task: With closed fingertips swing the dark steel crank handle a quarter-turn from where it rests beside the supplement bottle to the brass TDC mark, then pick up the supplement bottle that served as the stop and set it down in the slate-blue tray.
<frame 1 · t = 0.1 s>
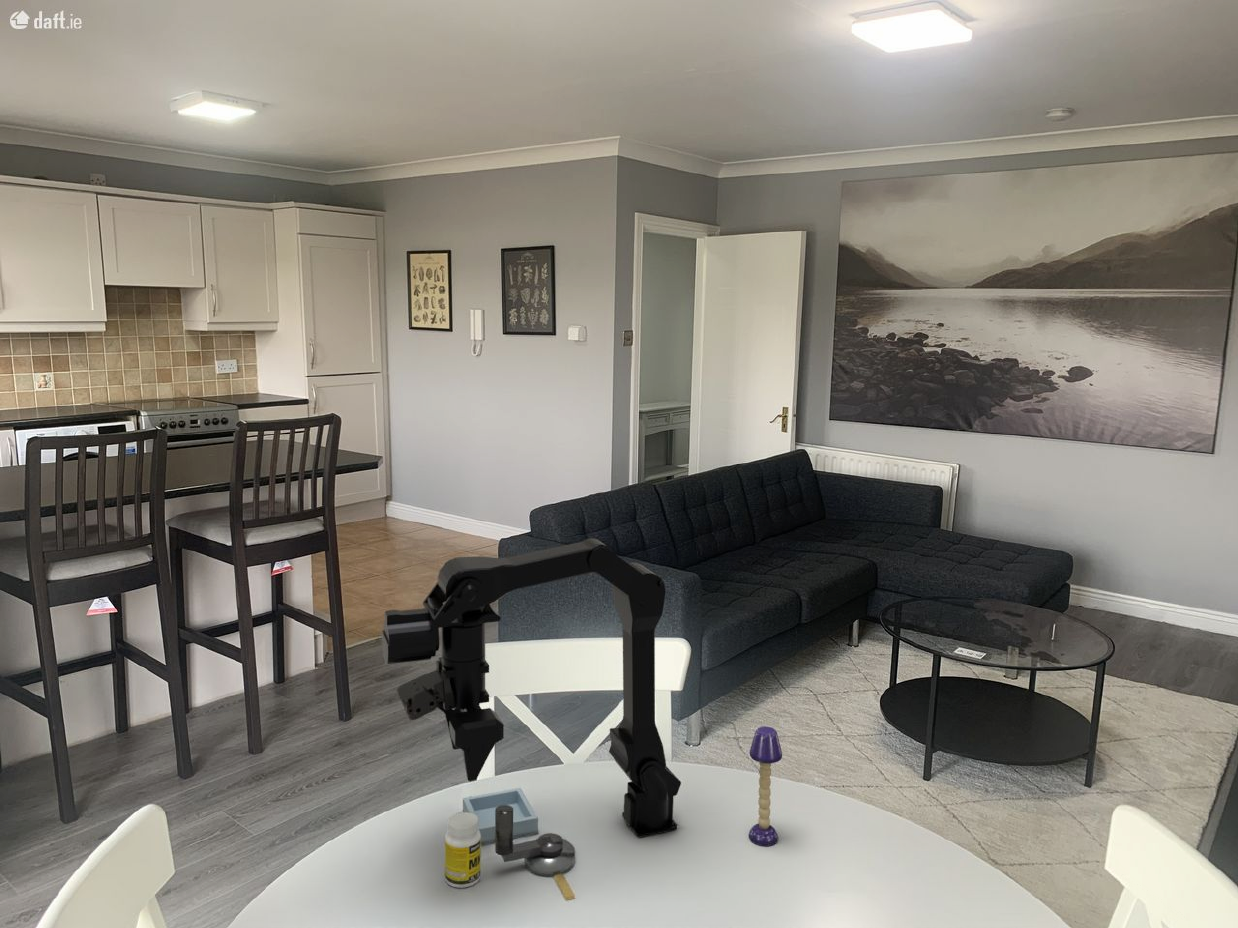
hand: (464, 763, 122), 14 cm above the table, fingers open, 9 cm apart
supplement bottle: (463, 879, 121), on the table
tray: (499, 823, 134), on the table
crank: (529, 829, 123), point 5 cm above the table, hinge at 0.0°
toy lamp: (761, 838, 132), on the table
crank base: (549, 861, 125), on the table
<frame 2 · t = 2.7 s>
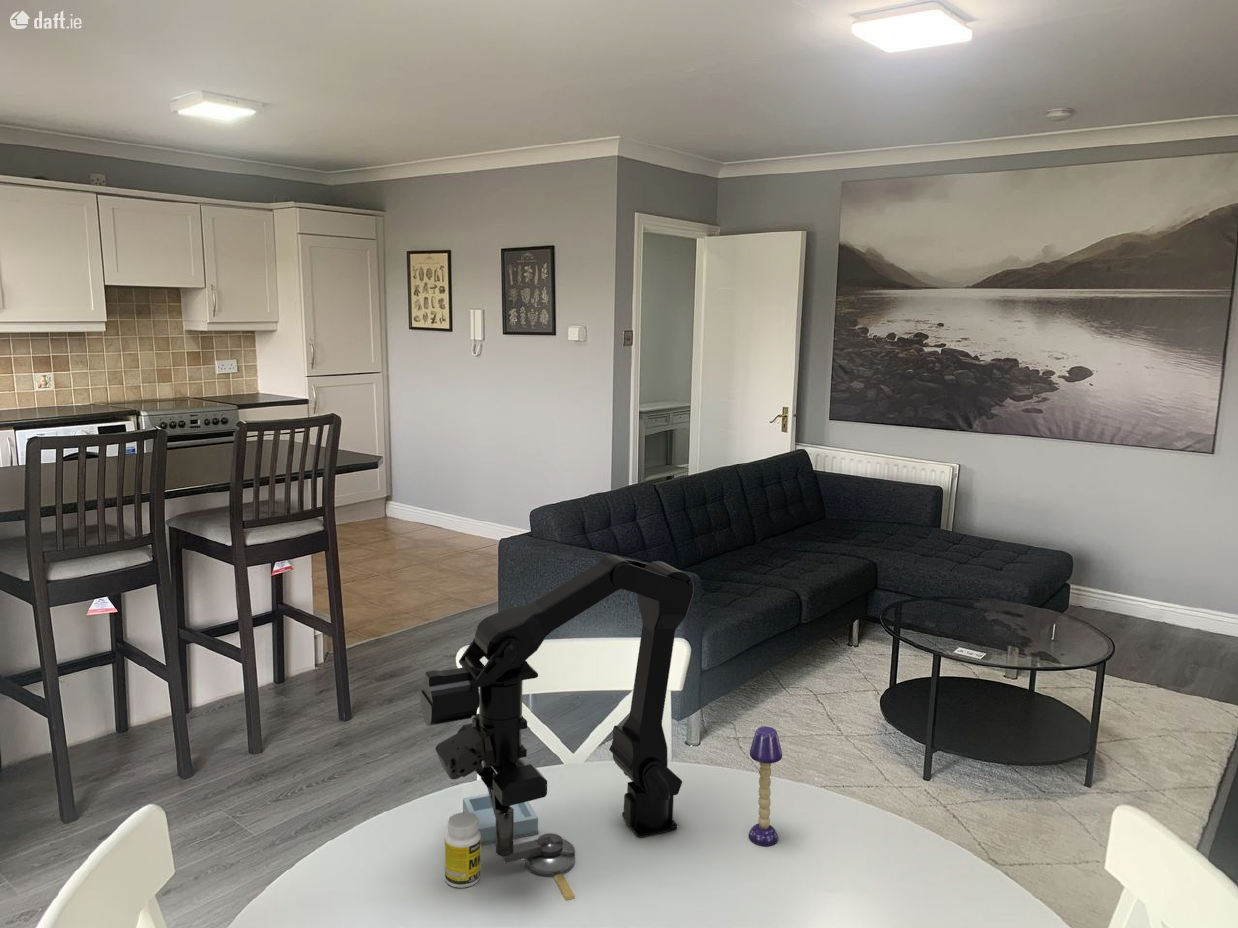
hand: (499, 817, 123), 7 cm above the table, fingers closed
crank: (529, 829, 123), point 5 cm above the table, hinge at 1.8°, touching gripper
everything else where it was.
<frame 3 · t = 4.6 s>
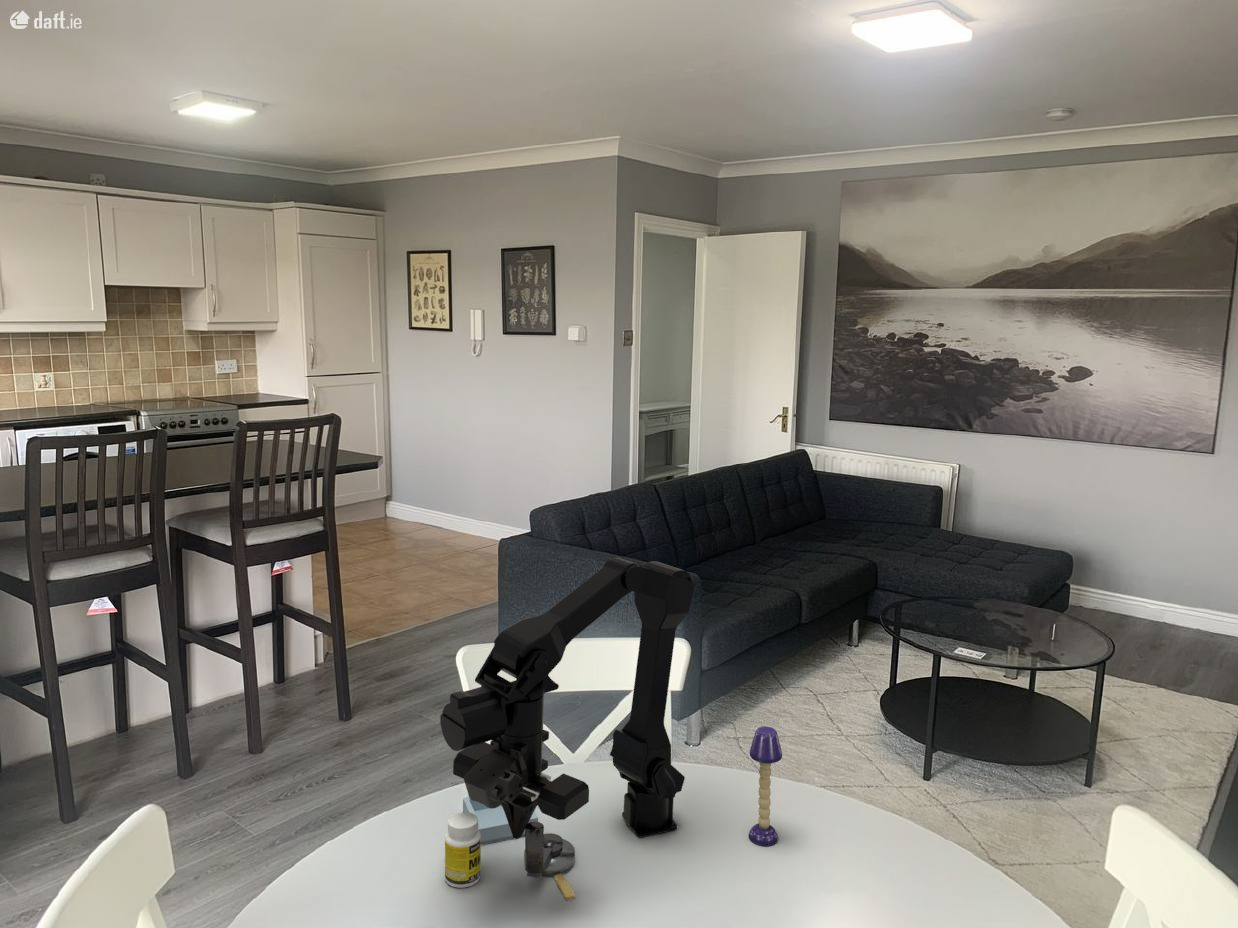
hand: (517, 837, 119), 7 cm above the table, fingers closed
crank: (543, 836, 121), point 5 cm above the table, hinge at 53.5°, touching gripper
everything else where it was.
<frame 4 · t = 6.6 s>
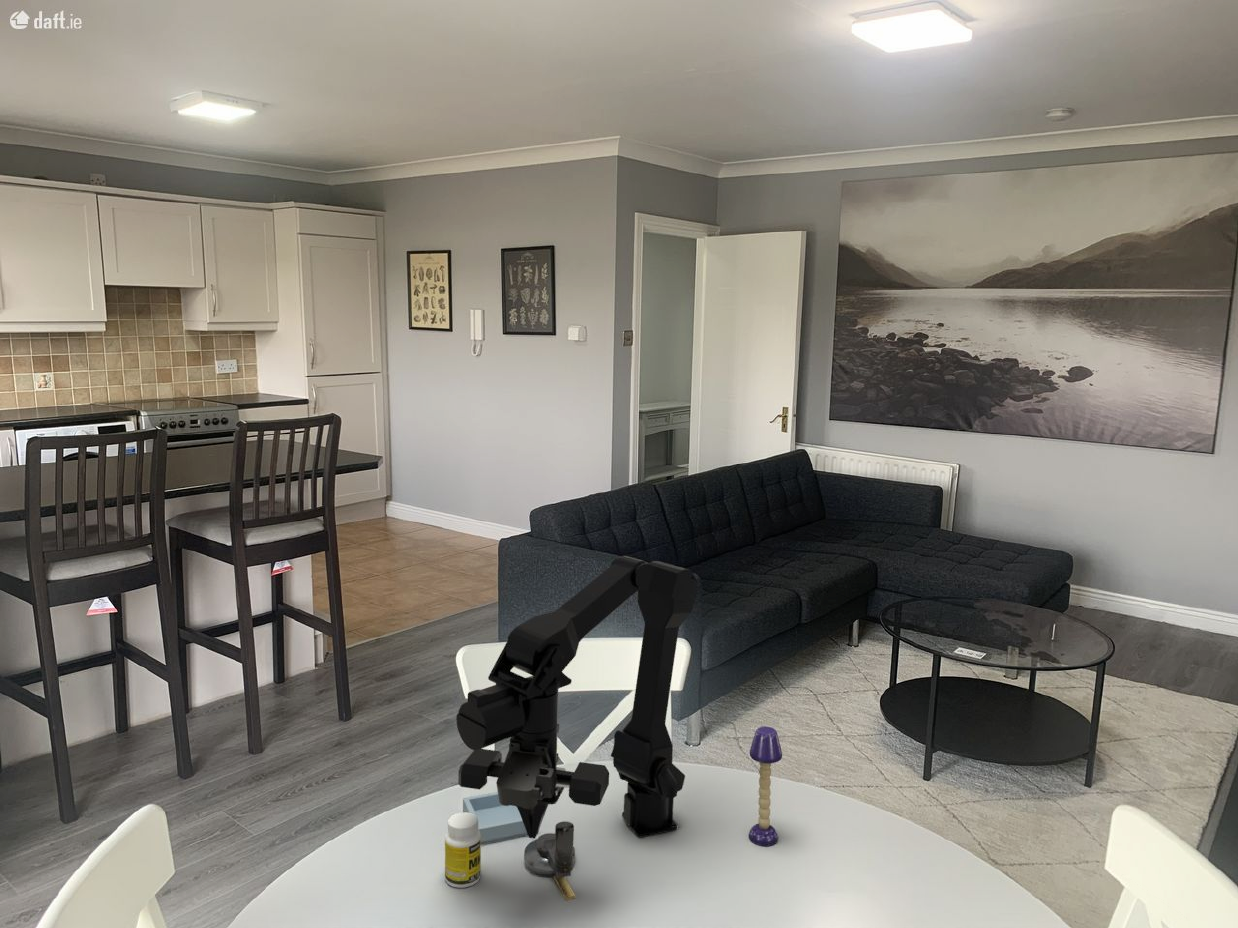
hand: (532, 836, 117), 8 cm above the table, fingers closed
crank: (556, 836, 121), point 5 cm above the table, hinge at 88.2°
everything else where it was.
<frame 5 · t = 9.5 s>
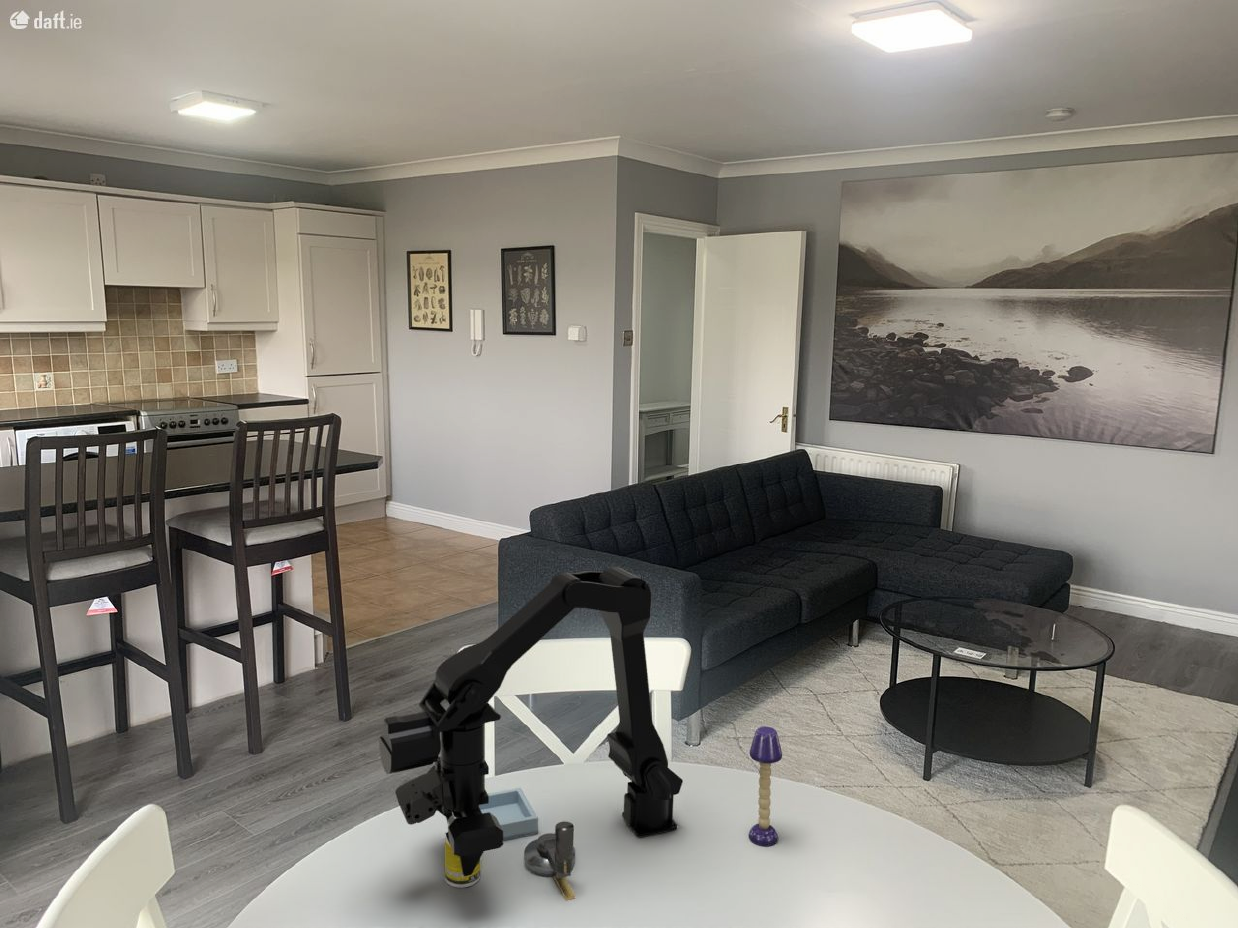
hand: (463, 863, 120), 2 cm above the table, fingers closed on supplement bottle, 5 cm apart
supplement bottle: (462, 878, 121), on the table, touching gripper
everything else where it was.
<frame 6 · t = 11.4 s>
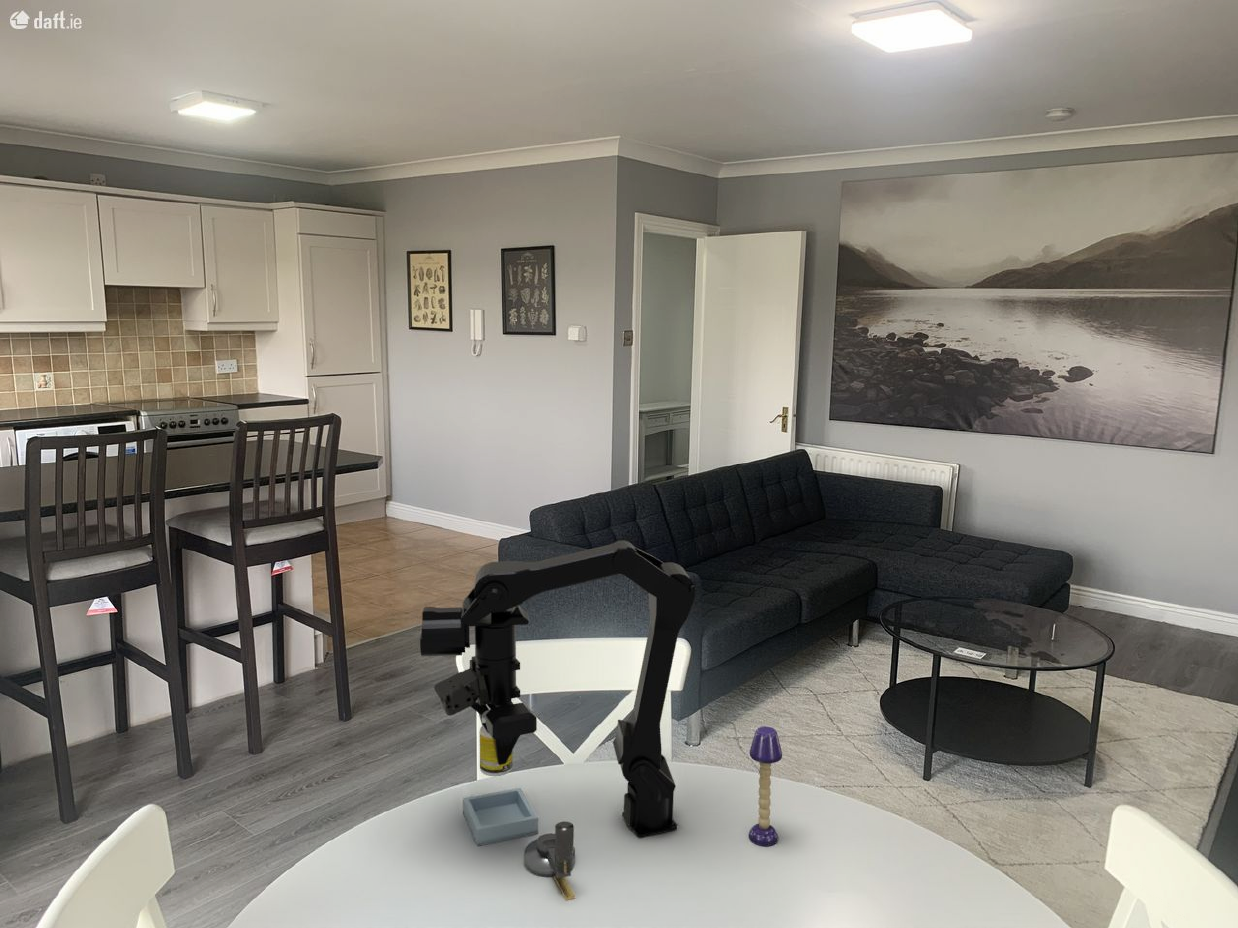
hand: (496, 755, 130), 12 cm above the table, fingers closed on supplement bottle, 5 cm apart
supplement bottle: (496, 770, 130), point 9 cm above the table, touching gripper
everything else where it was.
when the fingers open (4 cm above the table, at t = 13.3 s): supplement bottle drops 2 cm, resting on tray.
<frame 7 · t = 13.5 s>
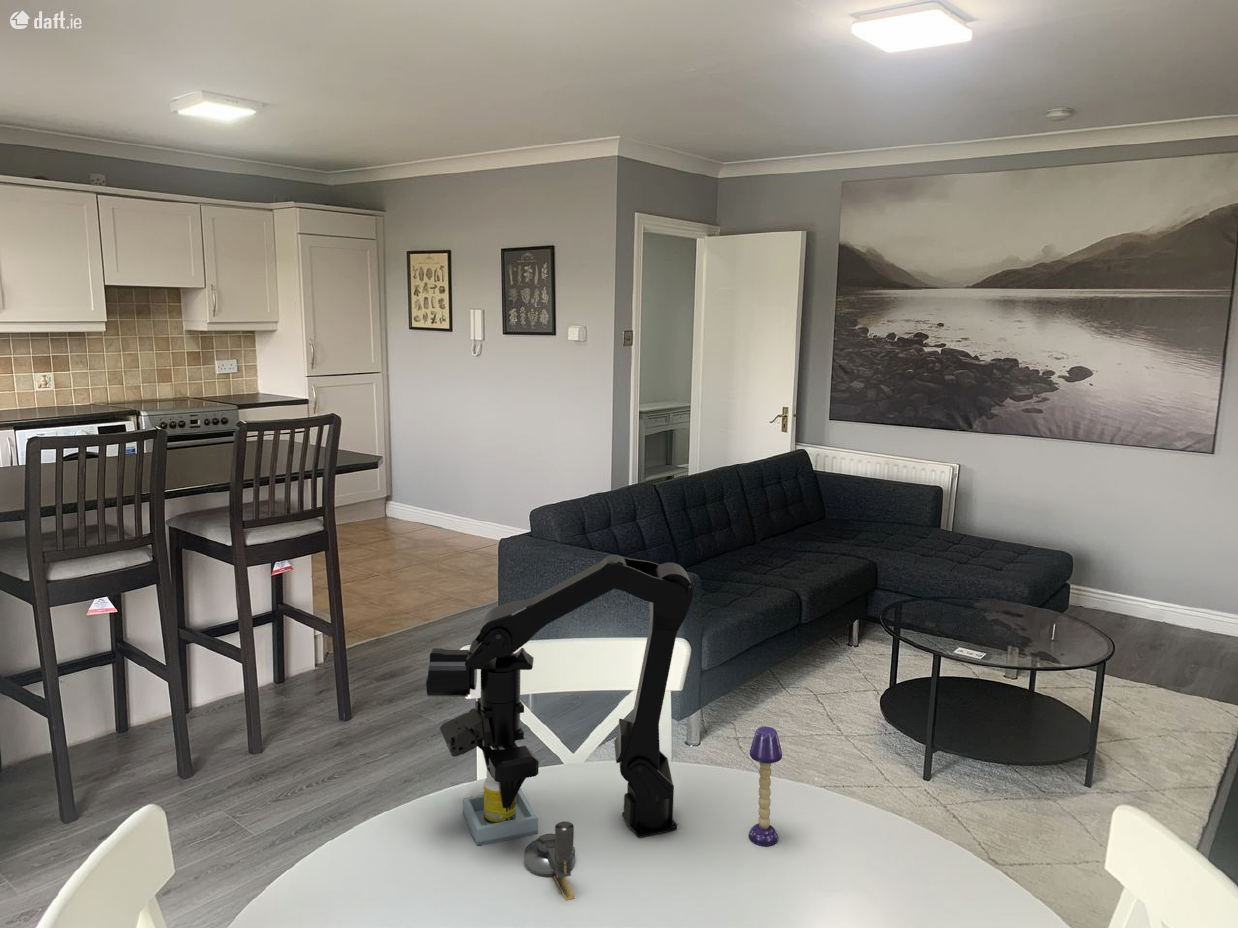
hand: (500, 795, 133), 4 cm above the table, fingers open, 7 cm apart
supplement bottle: (499, 821, 134), resting on tray
everything else where it was.
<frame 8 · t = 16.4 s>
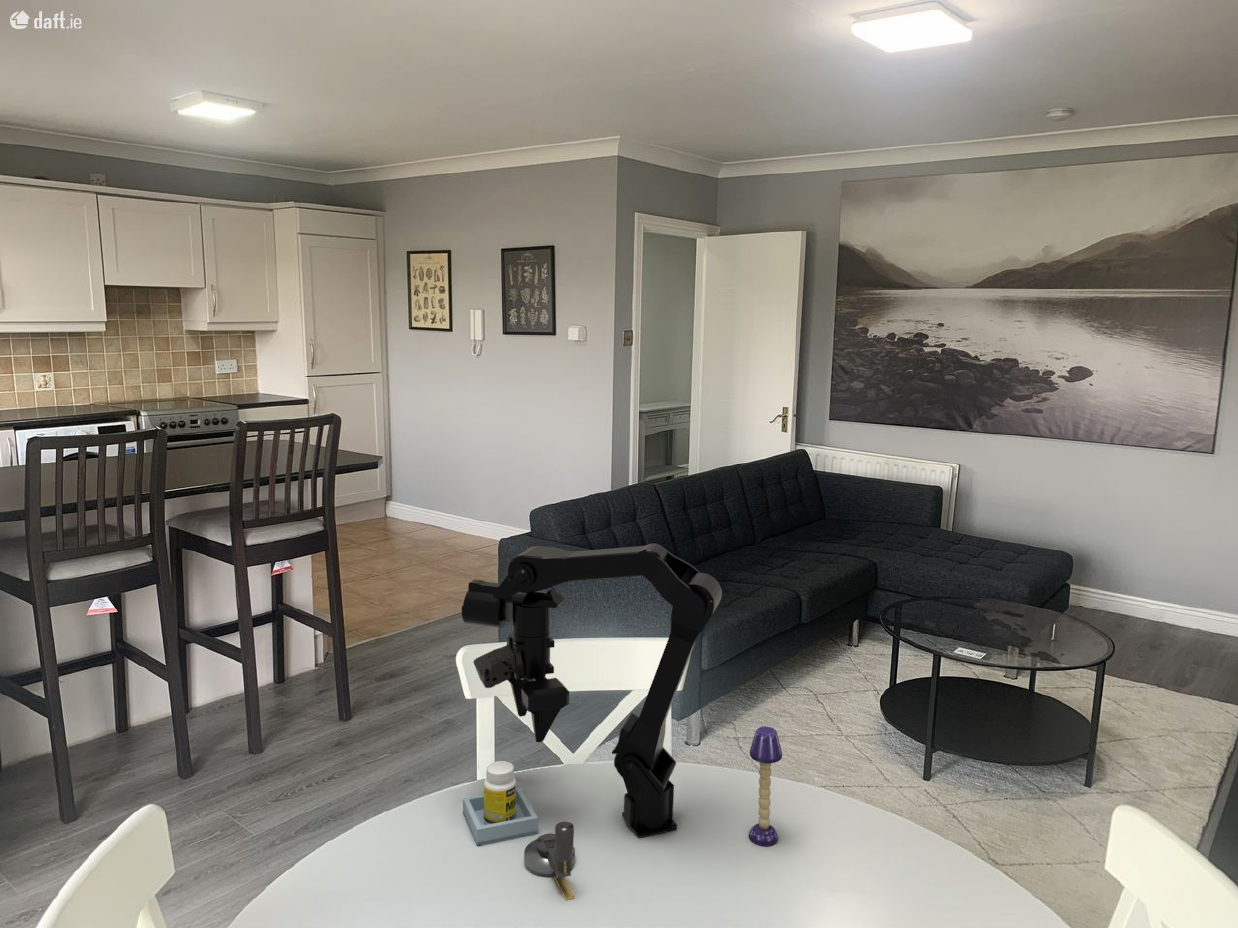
hand: (530, 728, 138), 12 cm above the table, fingers open, 9 cm apart
nothing on the table moved.
at the end: crank at +88° (first picture: +0°); supplement bottle 0.0 cm off-centre on the tray, point 0.3 cm above the tray's base; supplement bottle tilted 0° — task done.
